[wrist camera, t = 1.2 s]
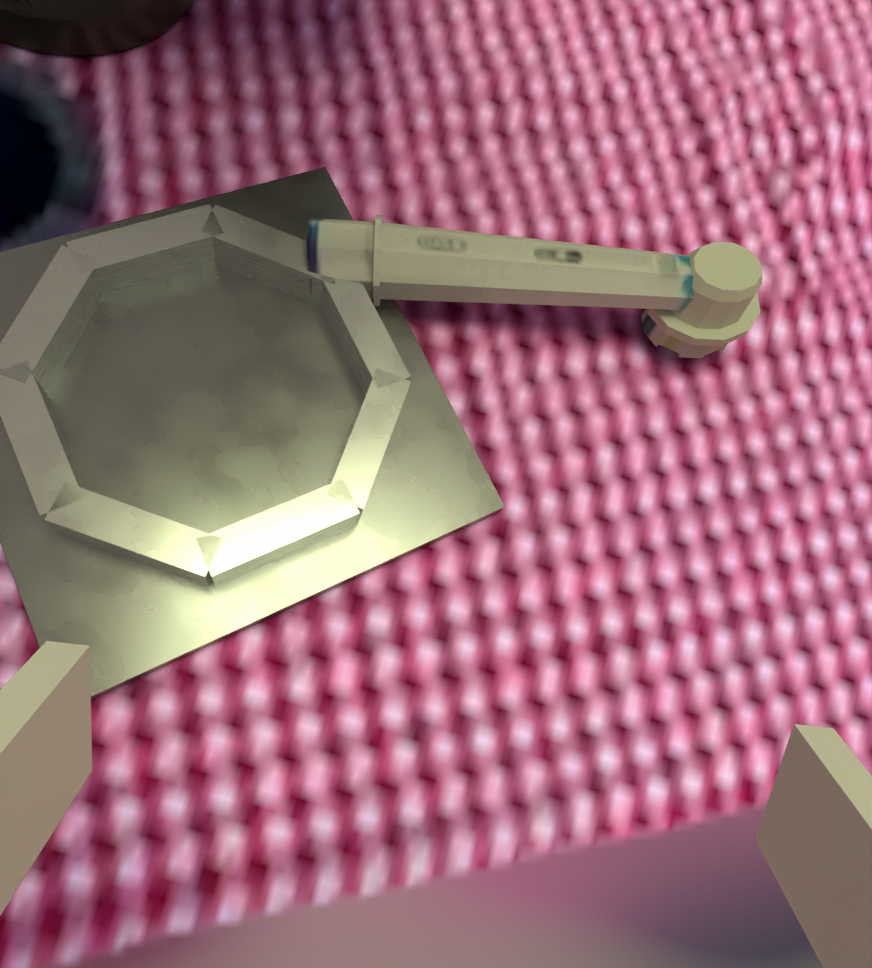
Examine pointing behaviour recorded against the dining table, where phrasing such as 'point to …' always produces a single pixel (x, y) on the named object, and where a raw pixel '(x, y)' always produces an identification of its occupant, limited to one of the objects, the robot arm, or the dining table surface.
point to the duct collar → (210, 428)
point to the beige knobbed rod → (548, 276)
